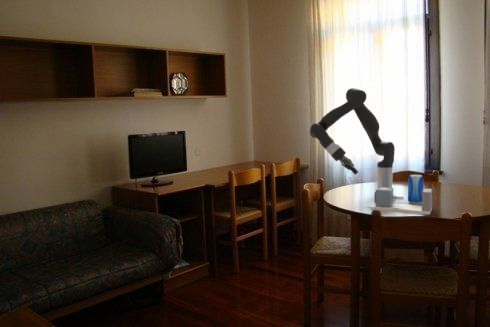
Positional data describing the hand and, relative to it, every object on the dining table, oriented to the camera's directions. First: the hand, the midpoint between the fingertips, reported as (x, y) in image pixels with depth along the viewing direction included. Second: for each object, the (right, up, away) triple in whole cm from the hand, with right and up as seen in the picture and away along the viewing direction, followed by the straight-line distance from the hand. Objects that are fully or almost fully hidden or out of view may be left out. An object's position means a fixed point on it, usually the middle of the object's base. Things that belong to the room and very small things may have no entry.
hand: (356, 173), depth 256 cm
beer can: (+35, -17, +6) cm, 40 cm away
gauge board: (+22, -20, -9) cm, 31 cm away
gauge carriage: (+16, -18, -7) cm, 25 cm away
